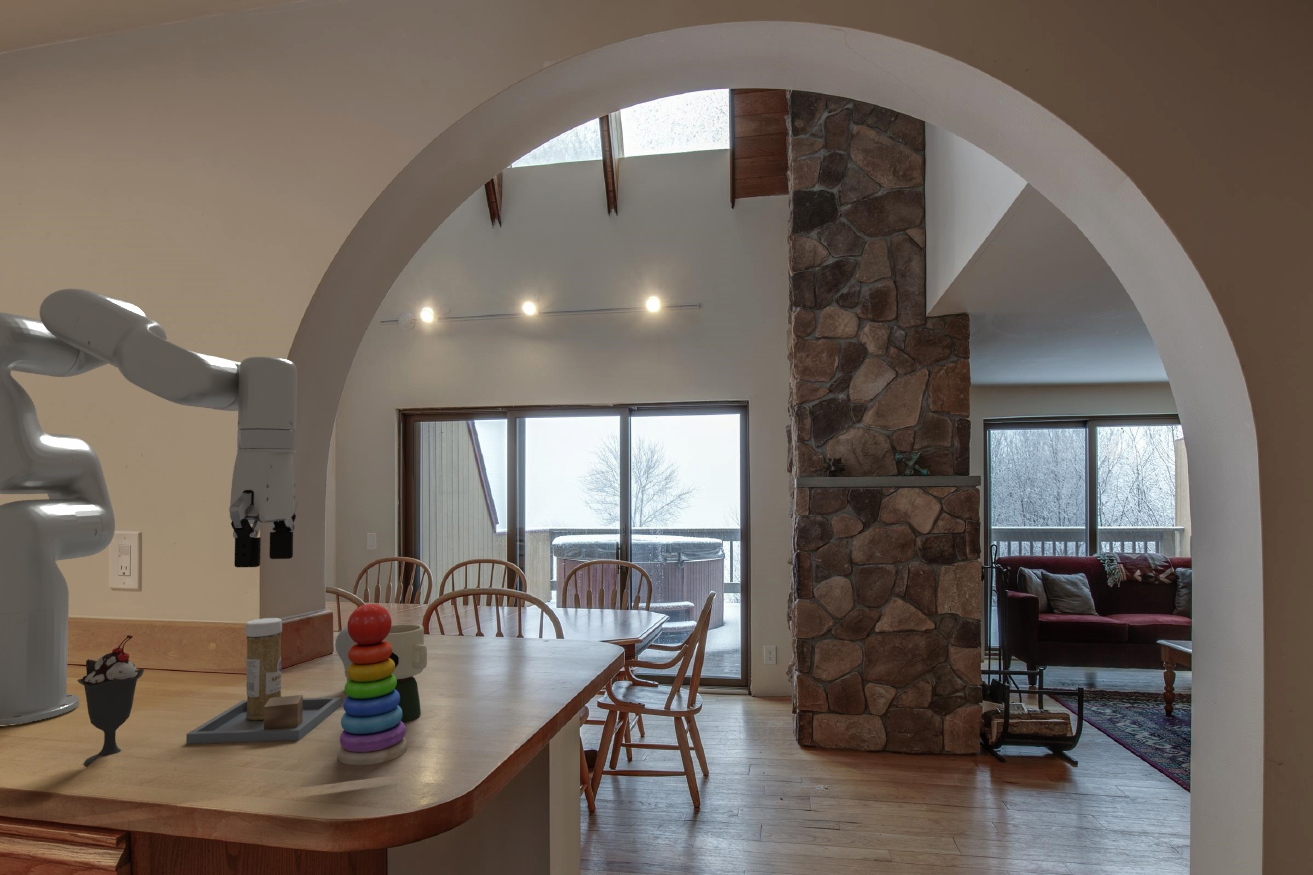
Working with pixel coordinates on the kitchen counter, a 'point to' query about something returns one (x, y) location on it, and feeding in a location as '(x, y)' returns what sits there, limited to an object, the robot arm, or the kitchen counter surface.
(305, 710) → the slate tray
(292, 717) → the walnut block
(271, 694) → the sprinkles bottle
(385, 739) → the stacking toy
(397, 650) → the character mug
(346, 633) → the lightbulb
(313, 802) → the kitchen counter surface
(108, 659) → the sundae
